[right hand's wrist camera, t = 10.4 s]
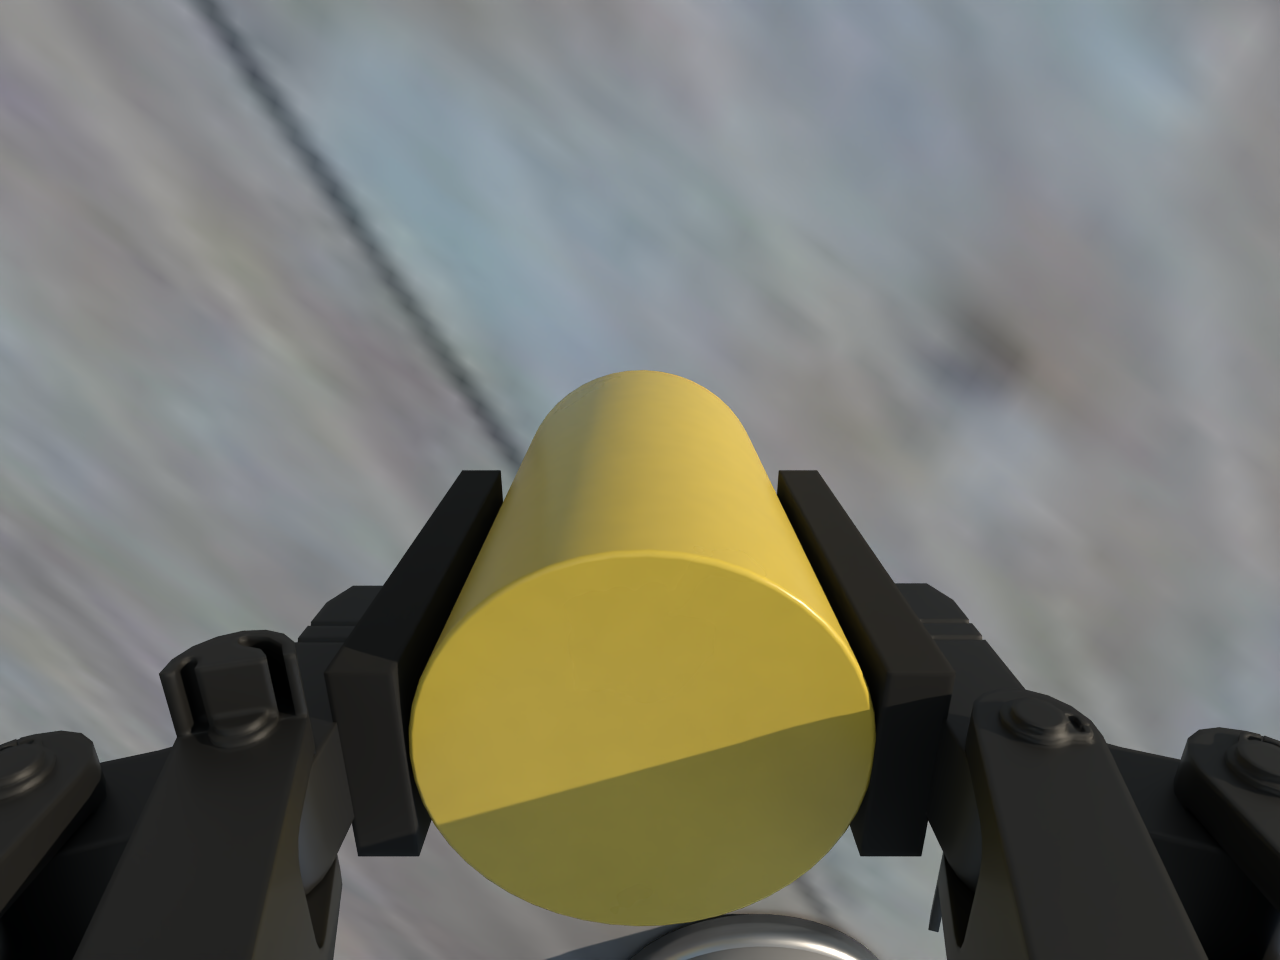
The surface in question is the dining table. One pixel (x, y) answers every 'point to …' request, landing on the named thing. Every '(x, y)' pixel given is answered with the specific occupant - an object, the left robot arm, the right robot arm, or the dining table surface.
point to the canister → (642, 673)
